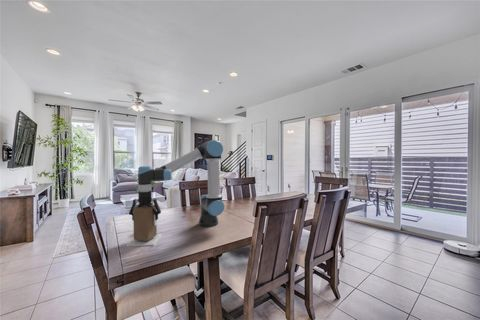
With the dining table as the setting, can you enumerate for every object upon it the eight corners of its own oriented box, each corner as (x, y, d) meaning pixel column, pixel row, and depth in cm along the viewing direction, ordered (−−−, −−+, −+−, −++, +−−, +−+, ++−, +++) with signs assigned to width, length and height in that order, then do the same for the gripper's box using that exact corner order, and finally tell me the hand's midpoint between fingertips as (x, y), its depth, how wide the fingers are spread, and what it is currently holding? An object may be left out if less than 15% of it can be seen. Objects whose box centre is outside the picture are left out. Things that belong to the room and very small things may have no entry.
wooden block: (147, 241, 123) (147, 208, 122) (133, 240, 125) (132, 208, 124) (157, 235, 133) (157, 204, 132) (143, 234, 134) (143, 204, 134)
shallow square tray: (162, 235, 137) (162, 233, 137) (154, 245, 121) (154, 244, 121) (137, 235, 136) (137, 234, 136) (126, 246, 120) (126, 244, 120)
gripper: (166, 189, 133) (166, 222, 133) (128, 190, 131) (128, 223, 131) (162, 191, 125) (162, 226, 126) (122, 192, 124) (122, 227, 124)
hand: (145, 225), depth 128 cm, fingers open, 11 cm apart
